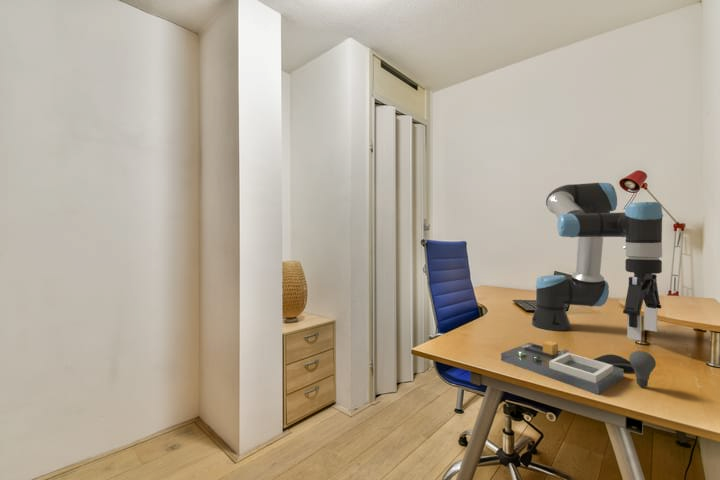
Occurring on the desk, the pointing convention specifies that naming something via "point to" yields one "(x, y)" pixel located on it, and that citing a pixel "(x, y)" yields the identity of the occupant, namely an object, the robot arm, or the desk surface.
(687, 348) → the desk surface
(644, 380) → the light bulb
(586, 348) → the desk surface
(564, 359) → the socket
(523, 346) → the panel
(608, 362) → the computer mouse
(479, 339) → the desk surface
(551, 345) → the wooden block
